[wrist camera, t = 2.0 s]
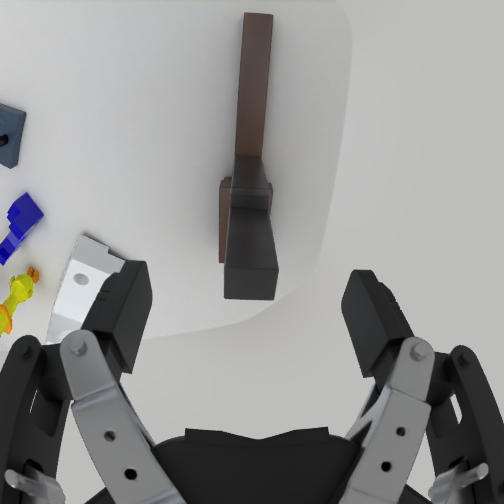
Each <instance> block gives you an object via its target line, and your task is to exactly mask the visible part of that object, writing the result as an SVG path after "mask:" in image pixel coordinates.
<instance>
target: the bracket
mask: <svg viewBox="0 0 504 504" xmlns="http://www.w3.org/2000/svg"><path fill="white" fill-rule="evenodd" d="M108 249H109V247H107V246H105V245H103V244H101V243H99V242H96V241H94V240H92V239H90V238H88V237H86V236H83V235H81V234H80V235H79V237H78V239H77V242H76V244H75V246H74V249H73V251H72V254H71V256H70V259H69V261H68V264H67V266H66V269H65V272H64V274H63V277H62V280H61V283H60V285H59V288H58V291H57V294H56V297H55V301H54V305H53V309H52V313H51V318H50V323H49V328H48V333H47V338H46V344H45V345H50V344H55V343H56V342H58V341H59V340H62V339H64V338H65V336H67V335H68V334H69V333H71V332H73V331H76V330H80V328H81V326H82V324H83V322H84V320H85V318H86V316H87V314H88V312H89V310H90V308H91V306H92V304H93V302H94V300H95V298H96V296H97V294H98V292H100V288H101V286H102V284H103V283H104V281H105V280H106V279H107V278H108V277H109V276H110V275H111V274H112V273H114V272H118V273H119V272H120V270H121V268H122V266H123V264H124V263H125V261H124V260H122V259H119V258H117V257H115V256H113V255H110V254H108Z"/></svg>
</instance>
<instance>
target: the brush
mask: <svg viewBox="0 0 504 504" xmlns="http://www.w3.org/2000/svg"><path fill="white" fill-rule="evenodd" d="M272 25H273V15H271V14H260V13H244V24H243V36H242V48H241V62H240V76H239V91H238V106H237V123H236V141H235V157H234V166H233V174H232V177H225V178H224V180H221V183H220V189H219V263H224V298H225V299H240V300H274V297H275V291H276V285H277V279H278V273H279V268H278V262H277V256H276V250H275V244H274V238H273V232H272V227H271V221H270V213H271V204H272V195H273V188H272V184H271V183H268V181H267V179H266V175H265V170H264V166H263V162H262V157H261V156H262V145H263V133H264V121H265V109H266V97H267V85H268V73H269V61H270V49H271V37H272Z"/></svg>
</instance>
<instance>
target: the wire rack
mask: <svg viewBox="0 0 504 504" xmlns="http://www.w3.org/2000/svg"><path fill="white" fill-rule="evenodd" d="M25 116H26V113H25V112H23V111H20V110H17V109H14V108H12V107H9V106H6V105H3V104H0V164H2V165H4V166H6V167H8V168H10V169H11V168H13V167H15V166H16V165H17V162H18V154H19V148H20V141H21V136H22V130H23V125H24V120H25Z"/></svg>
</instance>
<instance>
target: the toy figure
mask: <svg viewBox="0 0 504 504" xmlns="http://www.w3.org/2000/svg"><path fill="white" fill-rule="evenodd" d="M38 280H39V277H38V272H37V271H34V274H33V268H31V267H30V268H29V270H28V272H27V274H21V275H18V276H17V277H16V279H15V277H14V276H13V277H12V278H11V279H10V282H9V285H11V286H10V296H9V297H8V298H7V299H6V300H5V301H4V302H3V304H2V305H0V335H1V334H2V333H3V331H4V332H5V333H7V334H10V332H11V329H12V318H11V317H12V315H13V313H14V311H15V308H16V306H17V304H18V303H20V302H25V301H26V300H27V299H28V298H30V297H31V296H32V293H33V282H34V283H37V281H38ZM0 337H1V336H0Z"/></svg>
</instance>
